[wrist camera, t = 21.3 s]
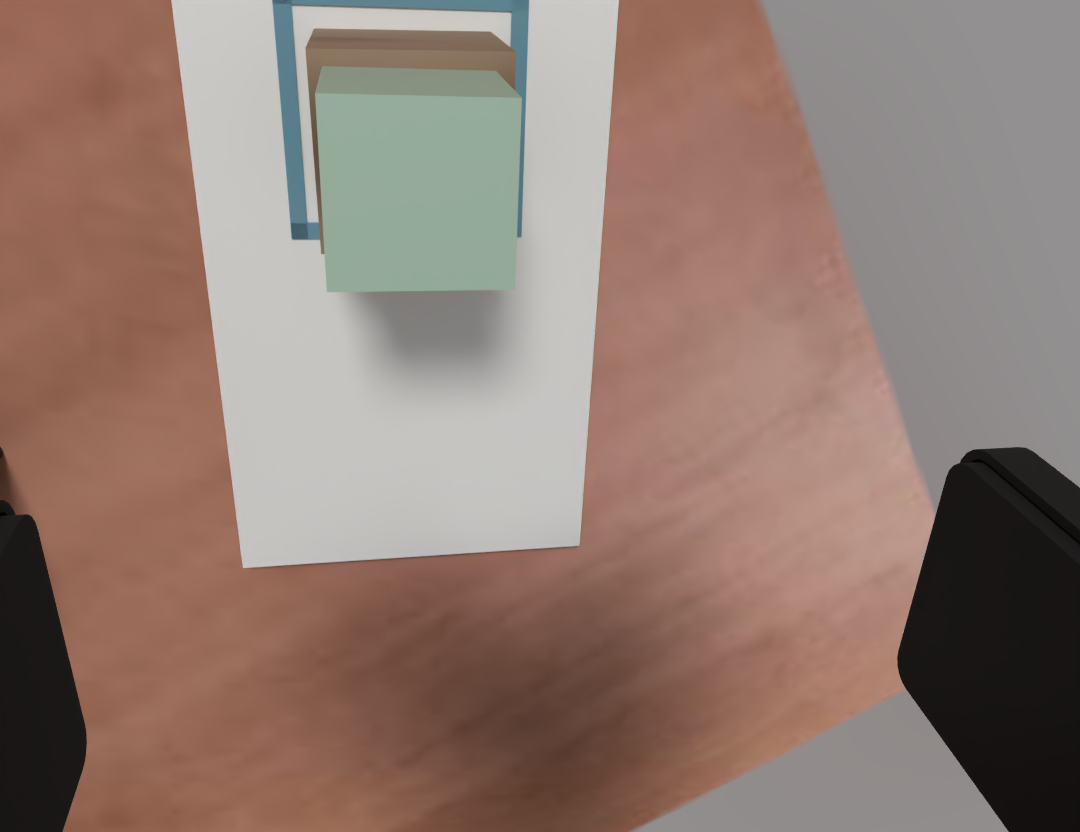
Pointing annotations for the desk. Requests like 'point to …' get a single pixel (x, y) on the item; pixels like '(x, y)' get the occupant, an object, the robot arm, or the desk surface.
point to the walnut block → (400, 61)
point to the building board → (396, 299)
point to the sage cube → (418, 178)
